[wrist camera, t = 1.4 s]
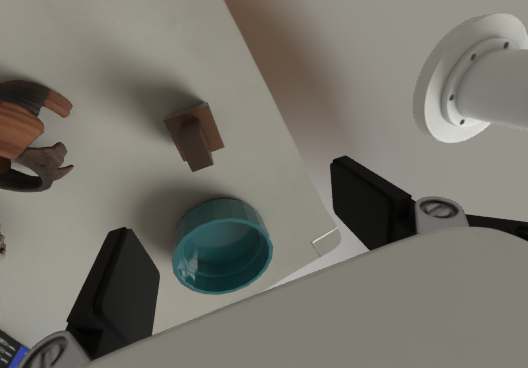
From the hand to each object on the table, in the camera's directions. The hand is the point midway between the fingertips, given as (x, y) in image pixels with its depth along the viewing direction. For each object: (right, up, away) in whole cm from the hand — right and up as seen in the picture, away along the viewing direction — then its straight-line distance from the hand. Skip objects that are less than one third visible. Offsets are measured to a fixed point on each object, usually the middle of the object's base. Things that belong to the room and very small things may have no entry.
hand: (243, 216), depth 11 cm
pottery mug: (-24, +8, +14) cm, 29 cm away
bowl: (-6, -6, +26) cm, 28 cm away
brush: (-7, +9, +18) cm, 21 cm away
